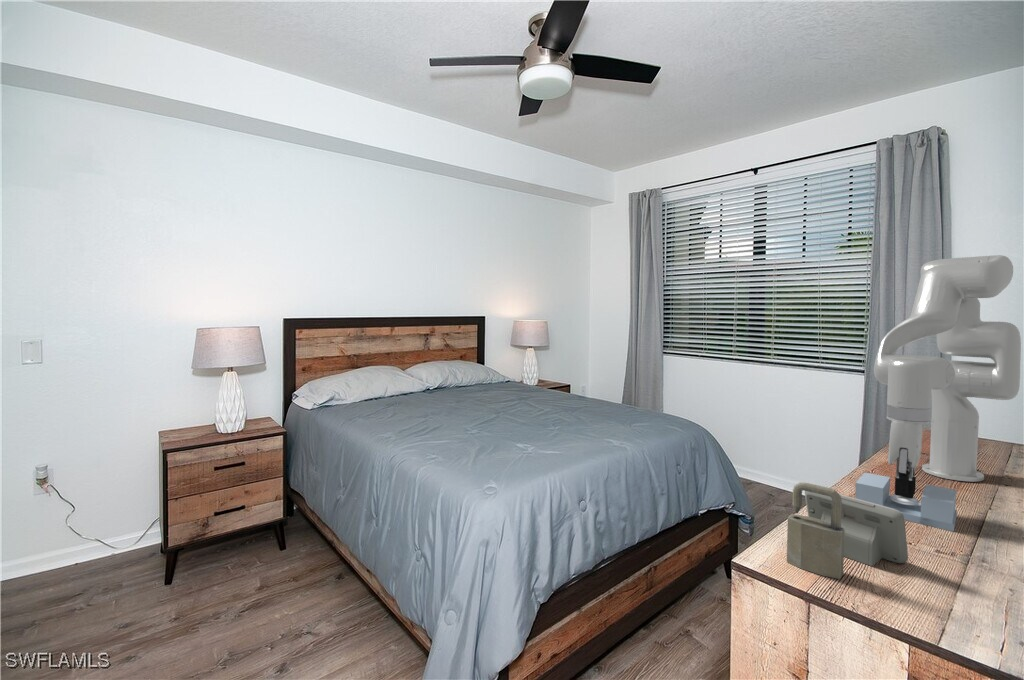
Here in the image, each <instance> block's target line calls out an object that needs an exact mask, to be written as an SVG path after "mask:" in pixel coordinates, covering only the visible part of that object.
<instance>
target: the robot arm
mask: <svg viewBox="0 0 1024 680" xmlns="http://www.w3.org/2000/svg"><path fill="white" fill-rule="evenodd" d="M919 274H920V275H919V276H920V278H919V281H918V287H917V290H916V293H915V297H914V301H913V305H912V307H911V308H912V309H911V312H910V313H911V314H910V316H909V317H908V318H906V319H904V320H903V321H901V322H900V323H898V324H897V325H895V326H894V327H893V328H891V330H889V331H888V332H887V333H886V334H885V335H884V336H883V338H882V340H881V341H880V343H879V345H878V348H877V353H876V356H875V360H874V365H873V375H874V378H875V379H876V381H877V382H879V383H880V384H883V385H884V386H887V391H886V392H887V394H886V395H887V396H886V419H887V420H889V421H891V423H890V430H889V440H888V441H889V443H888V453H887V454H888V456H887V463H888V465H890V466H891V465H894V464H895V463H896V465H895V466H896V468H895V469H896V471H895V477H894V478H895V481H894V494H895V495H897V496H902V497H907V498H913V497H914V495H916V482H917V481H916V478H917V477H916V475H915V474H916V468H917V467H918V464H919V463H920V458H921V454H922V443H923V433H924V432H923V430H924V429H923V428H924V427H923V426H924V425H929V424H930V426H931V427H930V442H929V443H930V444H929V445H930V449H929V463H924V464H922V465H921V470H922V471H924V472H925V473H927V474H928V475H932V476H935V477H938V478H943V479H947V480H951V481H953V480H954V481H958V482H968V483H969V482H970V483H971V482H972V483H973V482H977V483H978V482H982V481H984V480H985V475H984V474H983V473H982V472H980V471H977V463H978V446H979V445H978V443H979V425H980V424H979V423H980V414H979V412H978V409H977V408H976V406H975V405H974V404H973V403H972V402H971V401H970V400H969V399H968V398H978V399H985V400H986V399H988V400H996V401H999V400H1000V401H1009V400H1013V399H1014V398H1016V397H1017V395H1018V393H1019V391H1020V383H1021V360H1022V359H1021V354H1022V353H1021V351H1022V342H1021V340H1022V337H1021V332H1020V331H1019V328H1018V327H1017V325H1014V323H1011V322H1006V321H983V320H981V303H980V299H991V298H995V297H996V296H998V295H1000V293H1002V292H1003V291H1004V290H1005V289H1006V288H1007V287H1008V286H1009V285H1010V283H1011V281H1012V279H1013V277H1014V276H1013V275H1014V265H1013V262H1012V260H1011V259H1010V258H1009V257H1008V256H1005V255H999V254H997V255H983V256H982V255H981V256H967V257H966V256H965V257H951V258H949V257H948V258H940V259H935V260H931V261H927V262H925V263H924V264H923V265H921V267H920V272H919ZM934 335H935V336H936V344H937V346H936V347H937V349H938V352H940V353H942V354H943V355H946V356H950V357H962V358H963V357H966V358H983V359H984V358H985V359H986V358H987V359H991V360H992V362H983V361H982V362H981V361H971V360H970V361H969V360H947V359H946V358H943V357H939V356H932V355H931V356H929V355H928V356H927V355H915V354H913V355H912V354H897V352H899V350H900V349H902V347H904V346H906V345H908V344H910V343H912V342H915V341H917V340H921V339H925V338H928V337H931V336H934ZM908 465H909V466H908ZM907 469H909V470H907Z"/></svg>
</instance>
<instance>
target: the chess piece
mask: <svg viewBox="0 0 1024 680" xmlns="http://www.w3.org/2000/svg"><path fill="white" fill-rule="evenodd" d="M908 466H909V465H908ZM907 470H909V469H907ZM890 496H891V498H890V499H891V500H893V501H895V502H897V503H901V504H905V505H918V504H919V503H918V502H919V499H918V498H917V497H915V496H913V498H907V497H902V496H897V495H895V493H892V494H890Z"/></svg>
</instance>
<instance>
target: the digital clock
mask: <svg viewBox="0 0 1024 680" xmlns="http://www.w3.org/2000/svg"><path fill="white" fill-rule="evenodd" d="M838 494H839V495H840V496H841V500H842V509H841V527H844V528H845V534H844V558H846V559H850V560H852V561H856V562H858V563H861V564H864V565H867V566H868V567H869V566H870V567H873V566H875V565H876V564H877V563H878V562H879V561H881V560H882V559H884V560H887V561H889V562H893V563H897V564H906V563H907V562H908V559H909V553H908V552H909V551H908V543H907V542H908V541H907V531H906V522H905V521H906V520H904V516H903V514H902V513H901V512H900V511H898V510H896V509H893V508H889V507H886V506H882V505H879V504H875V503H871V502H867V501H864V500H860V499H856V498H855V497H852V496H848V495H845V494H841V493H838ZM804 497H805V498H804V499H805V505H806V511H807V516H808V517H812V518H816V519H819V520H823V521H827V522H830V523H831V509H832V498H831V497H830V496H826V495H821V494H817V493H813V492H808V491H804Z"/></svg>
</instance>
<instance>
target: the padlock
mask: <svg viewBox="0 0 1024 680" xmlns="http://www.w3.org/2000/svg"><path fill="white" fill-rule="evenodd" d="M803 491H804V492H805V491H808V492H813V493H817V494H821V495H826V496H830V497H831V498H832V509H831V523H830V522H827V521H823V520H819V519H816V518H812V517H808V515H806V516H805V515H803V514H802V515H800V514H799V512H800V510H801V508H802V505H803V499H802V498H803ZM839 494H840V493H839V492H838V491H836V490H835V489H833V488H831V487H827V486H824V485H817V484H813V483H809V482H801V481H800V482H798V483H795V484H794V486H793V488H792V502H791V503H792V504H791V505H792V507H793V510H794V513H790V515H789V516H788V517H787V530H786V531H787V533H786V536H787V540H786V562H787V563H789V564H791V565H793V566H795V567H797V568H799V569H802V570H805V571H808V572H810V573H814V574H816V575H819V576H822V577H828V578H832V579H838V580H841V579H842V576H843V575H844V560H845V559H844V558H845V557H844V534H845V528H844V527H841V509H842V500H841V496H840V495H839Z"/></svg>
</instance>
